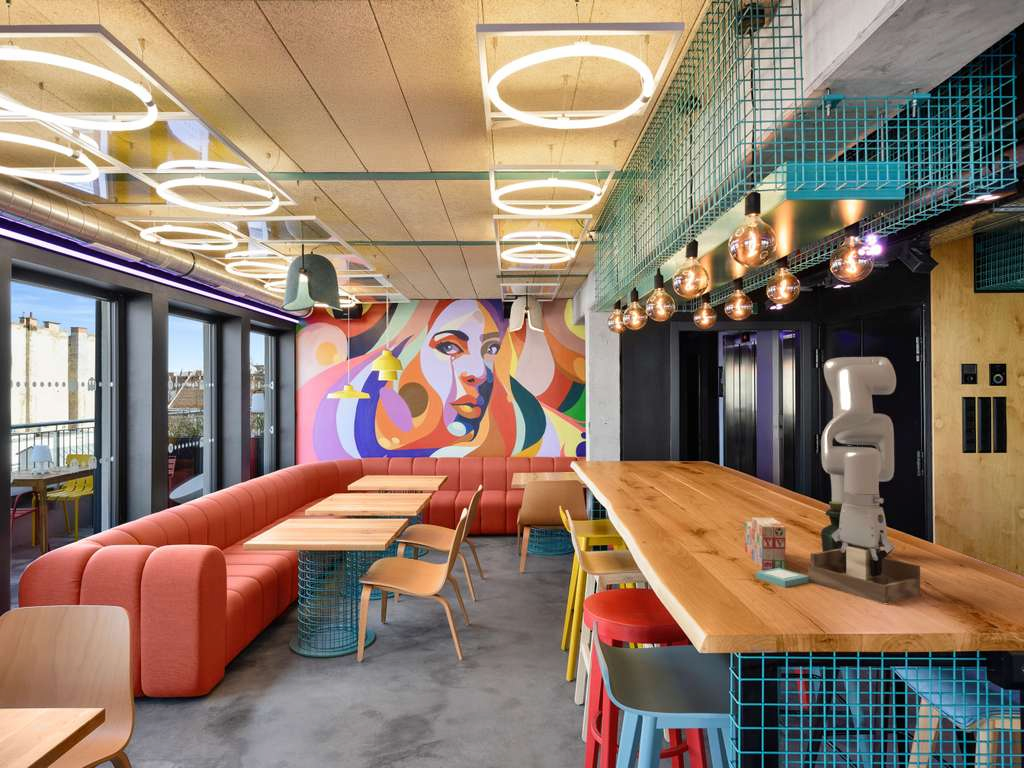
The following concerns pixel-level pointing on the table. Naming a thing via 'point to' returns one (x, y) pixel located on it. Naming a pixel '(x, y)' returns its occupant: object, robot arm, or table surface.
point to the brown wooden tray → (886, 588)
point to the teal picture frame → (782, 577)
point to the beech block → (859, 562)
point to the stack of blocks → (766, 542)
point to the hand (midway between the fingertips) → (862, 571)
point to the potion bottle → (831, 527)
